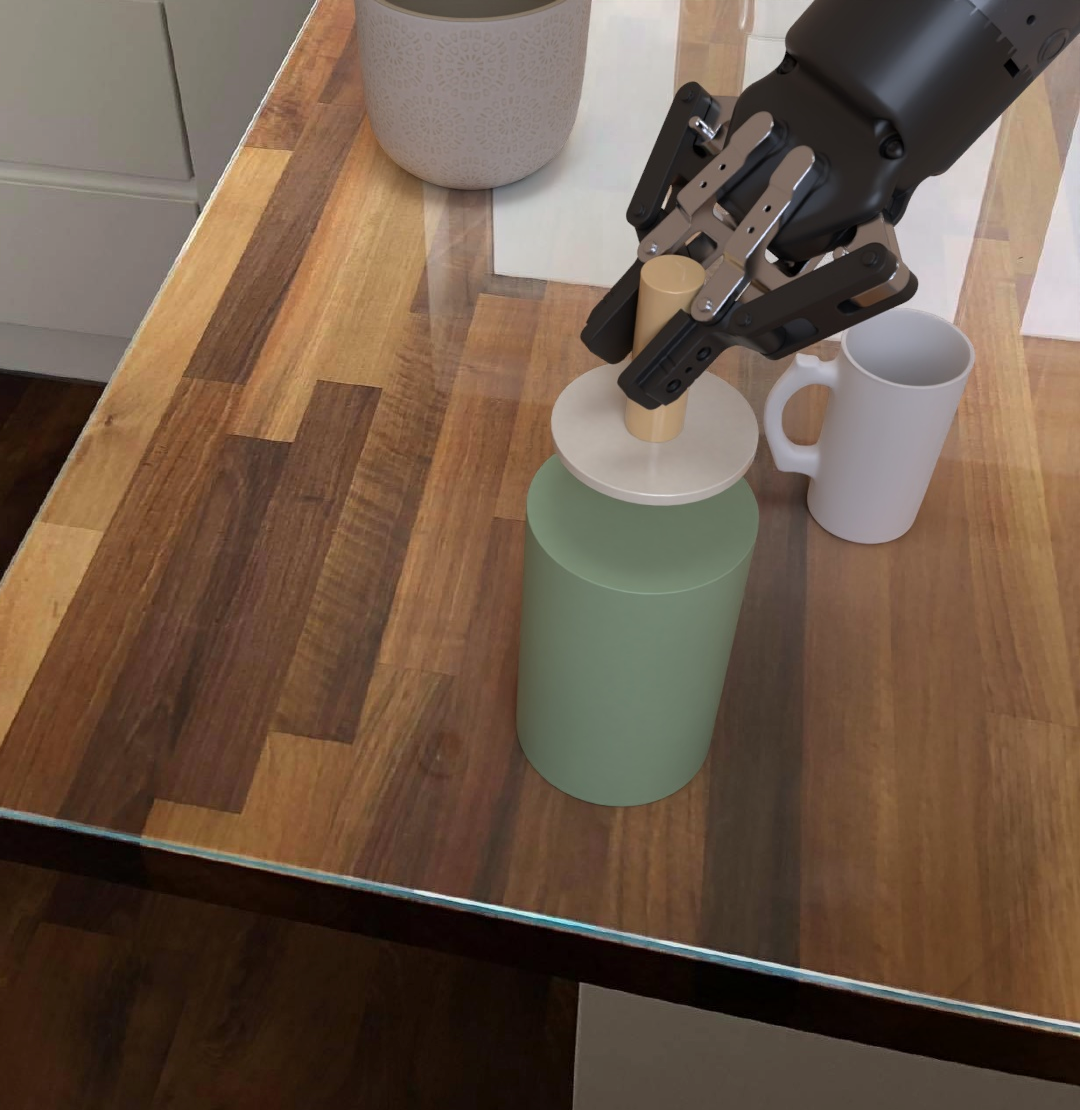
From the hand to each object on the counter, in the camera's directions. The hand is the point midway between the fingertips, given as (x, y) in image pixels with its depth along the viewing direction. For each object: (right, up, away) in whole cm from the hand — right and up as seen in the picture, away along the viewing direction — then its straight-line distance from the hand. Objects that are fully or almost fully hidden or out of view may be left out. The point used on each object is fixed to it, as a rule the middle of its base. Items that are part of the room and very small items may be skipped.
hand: (616, 373), depth 54 cm
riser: (+3, -16, +18) cm, 24 cm away
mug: (+17, -4, +29) cm, 34 cm away
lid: (+2, -2, +3) cm, 5 cm away
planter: (-3, +24, +55) cm, 61 cm away
